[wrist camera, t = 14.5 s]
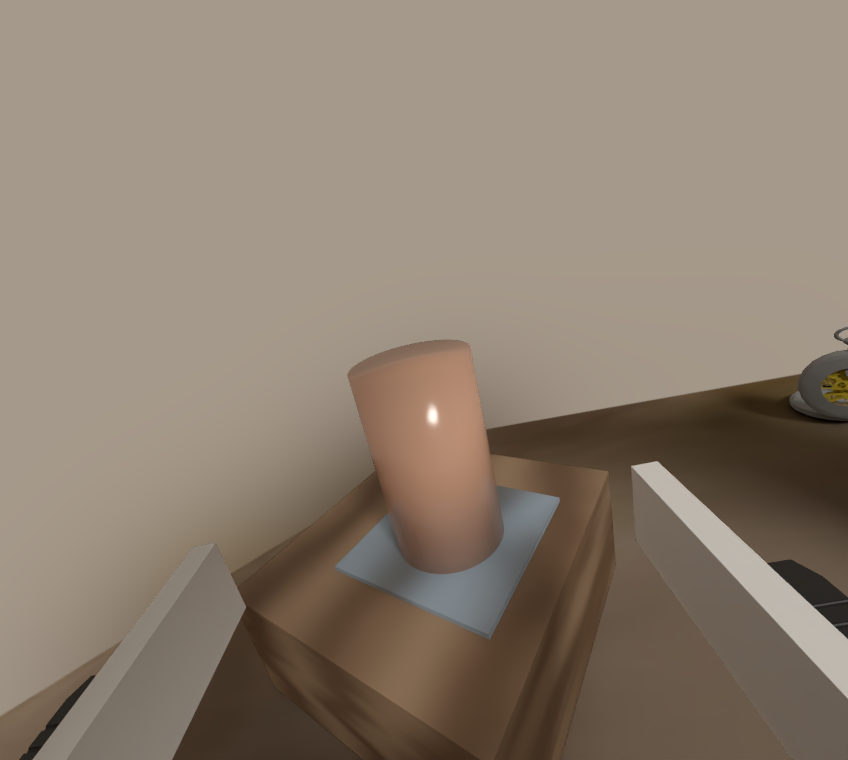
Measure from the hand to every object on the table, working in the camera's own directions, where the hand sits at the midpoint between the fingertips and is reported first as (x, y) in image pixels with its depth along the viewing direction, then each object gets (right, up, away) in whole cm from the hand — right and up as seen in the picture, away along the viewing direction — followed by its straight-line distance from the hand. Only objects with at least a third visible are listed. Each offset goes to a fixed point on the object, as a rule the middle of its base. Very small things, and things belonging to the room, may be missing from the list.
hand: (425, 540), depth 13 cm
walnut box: (+2, -12, +15) cm, 19 cm away
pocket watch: (+41, +1, +28) cm, 50 cm away
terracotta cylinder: (+2, -4, +11) cm, 12 cm away
